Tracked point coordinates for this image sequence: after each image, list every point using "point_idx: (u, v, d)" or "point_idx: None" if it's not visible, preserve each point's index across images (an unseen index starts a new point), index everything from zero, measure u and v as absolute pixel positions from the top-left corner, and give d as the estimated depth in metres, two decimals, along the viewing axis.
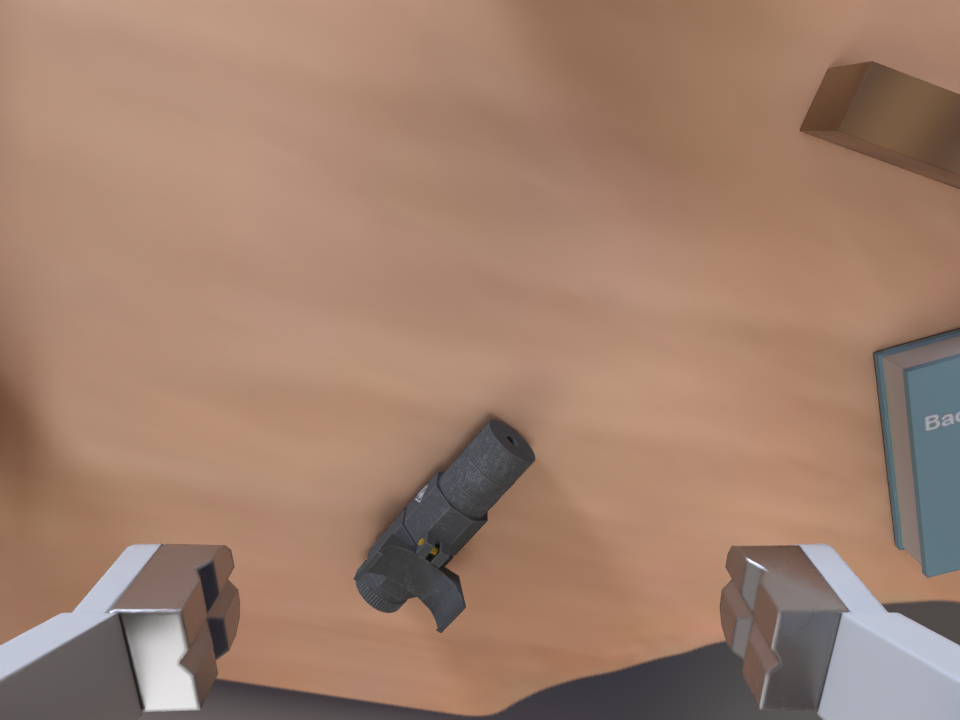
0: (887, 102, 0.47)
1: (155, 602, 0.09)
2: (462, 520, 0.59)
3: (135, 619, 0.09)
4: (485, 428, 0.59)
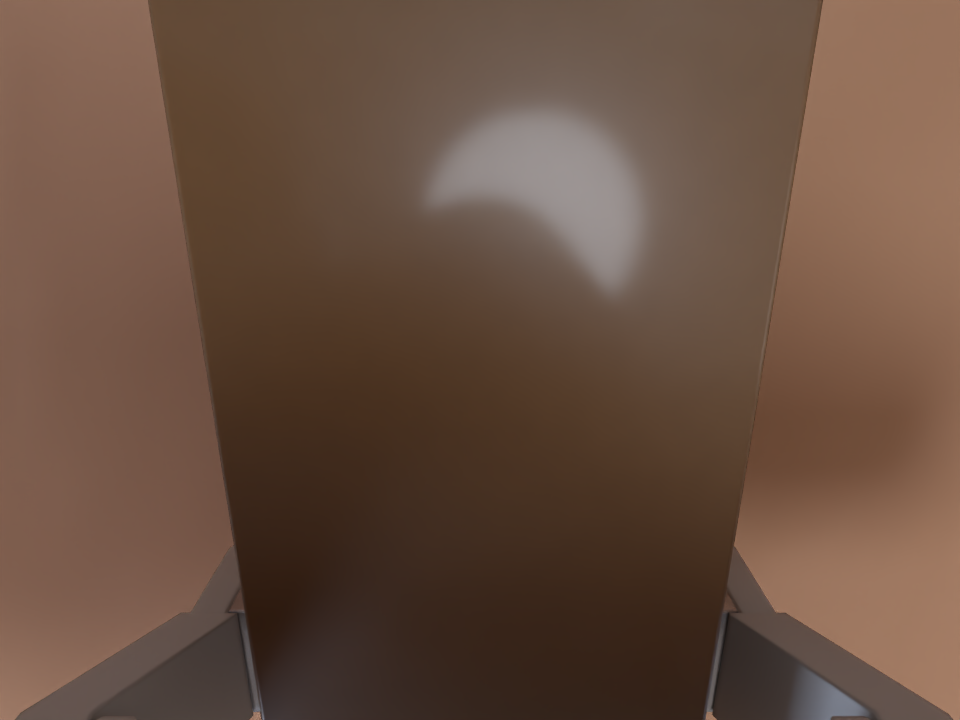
0: None
1: None
2: None
3: None
4: None
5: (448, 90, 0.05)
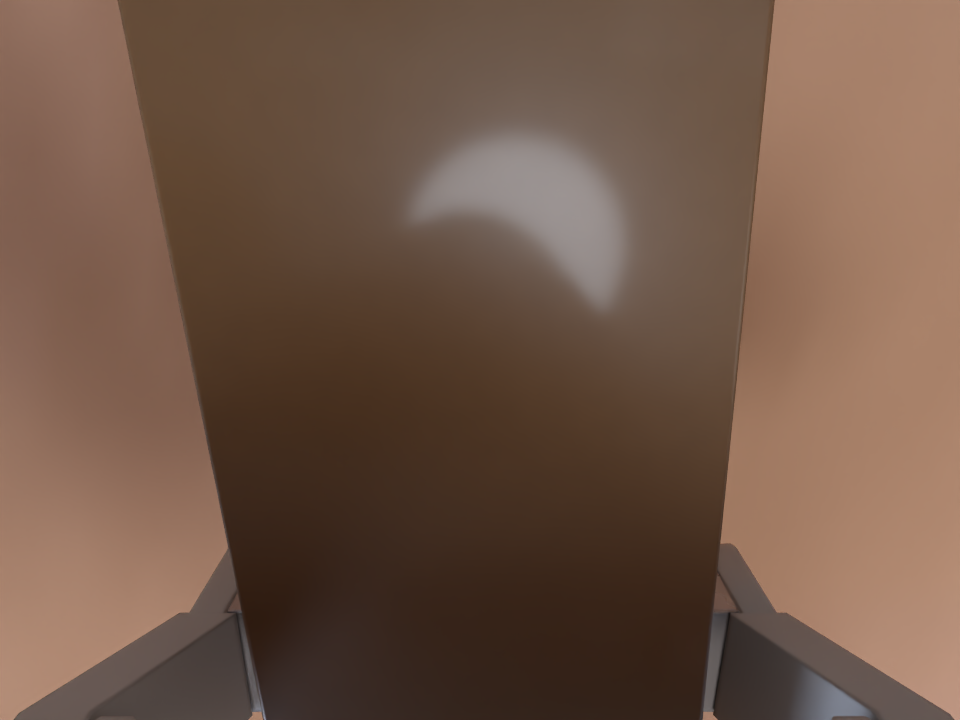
0: None
1: None
2: None
3: None
4: None
5: (417, 78, 0.05)
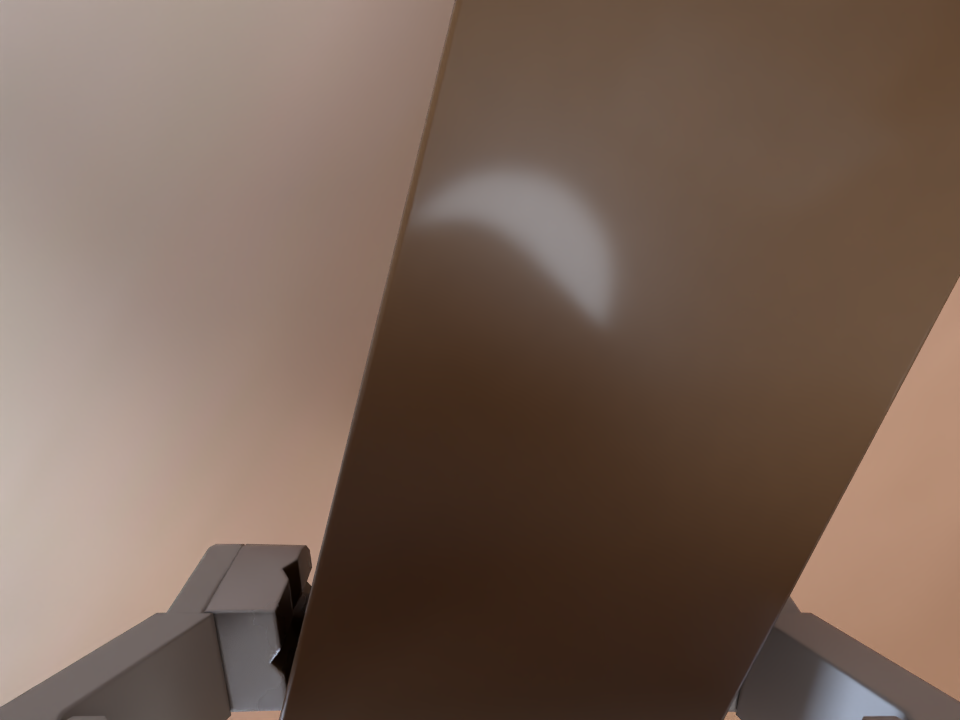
0: None
1: (247, 602, 0.09)
2: None
3: (229, 619, 0.09)
4: None
5: (709, 108, 0.05)
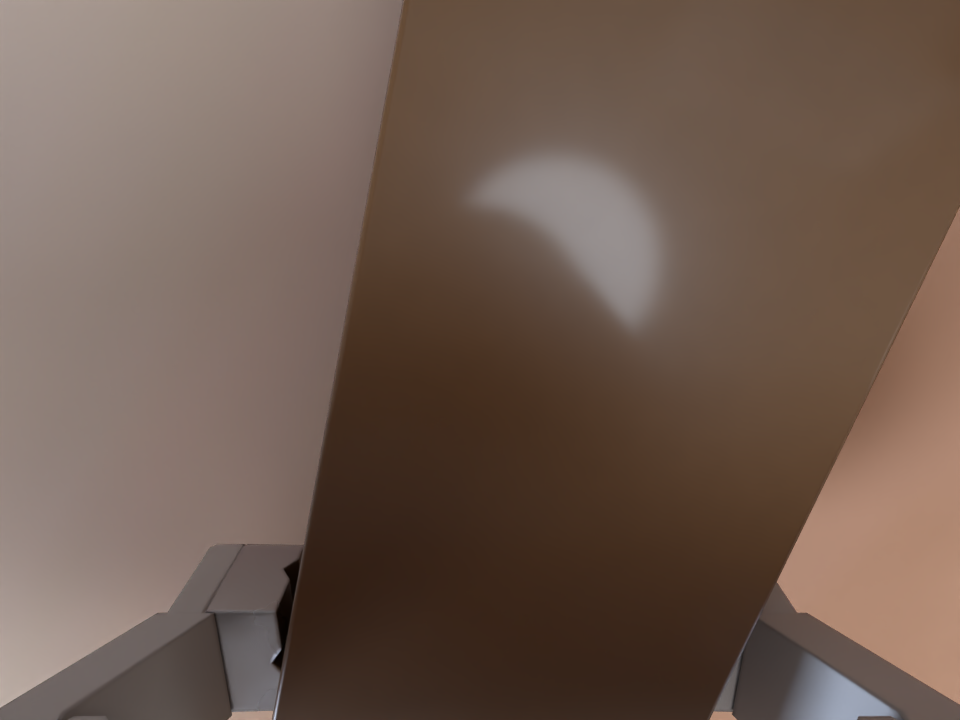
0: None
1: (249, 602, 0.09)
2: None
3: (230, 619, 0.09)
4: None
5: (661, 113, 0.05)
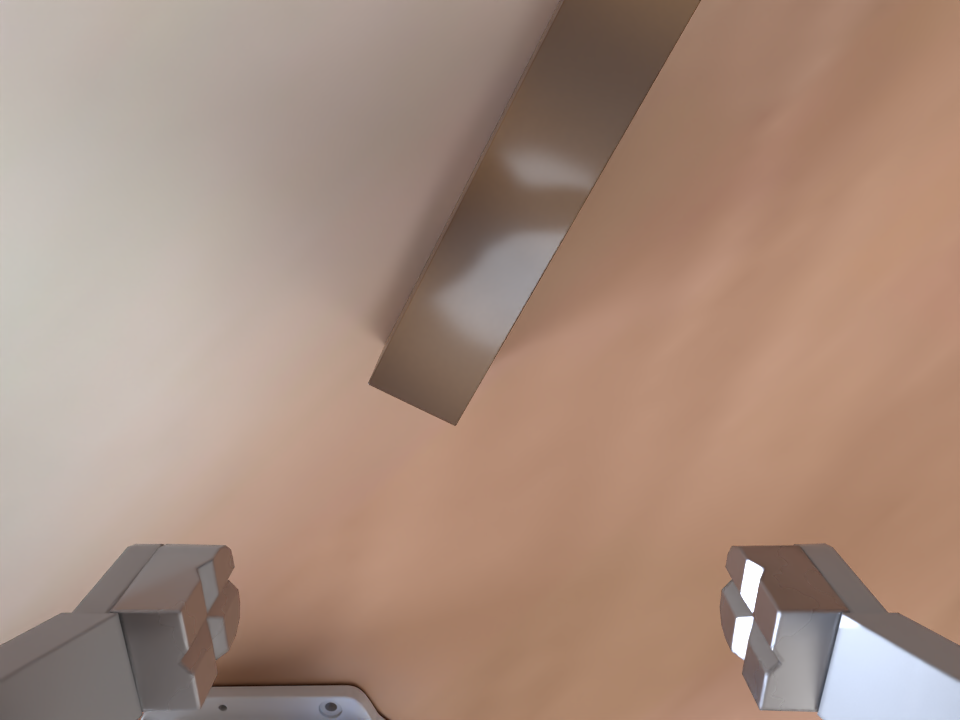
0: (426, 362, 0.32)
1: (155, 602, 0.09)
2: None
3: (135, 619, 0.09)
4: None
5: (546, 145, 0.28)
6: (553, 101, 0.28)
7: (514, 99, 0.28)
